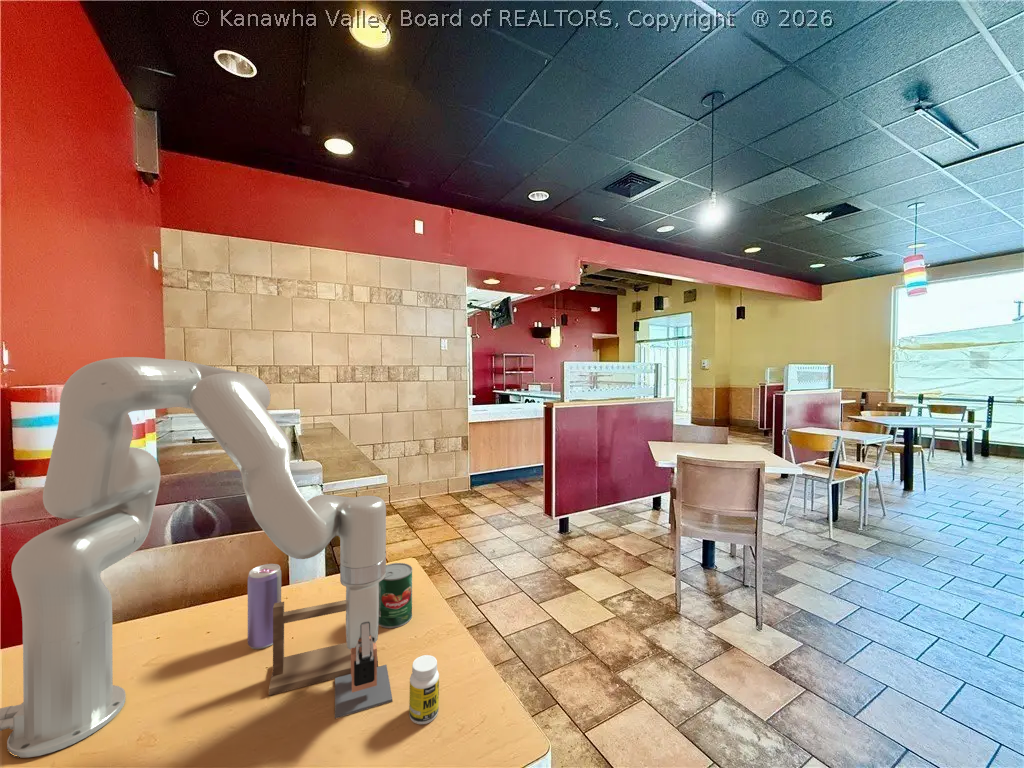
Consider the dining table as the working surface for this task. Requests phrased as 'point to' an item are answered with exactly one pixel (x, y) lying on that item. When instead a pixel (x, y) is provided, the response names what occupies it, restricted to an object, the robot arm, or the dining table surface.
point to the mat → (361, 694)
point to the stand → (307, 664)
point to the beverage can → (262, 604)
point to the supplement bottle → (424, 690)
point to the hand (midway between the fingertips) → (363, 669)
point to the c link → (353, 658)
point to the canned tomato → (395, 596)
